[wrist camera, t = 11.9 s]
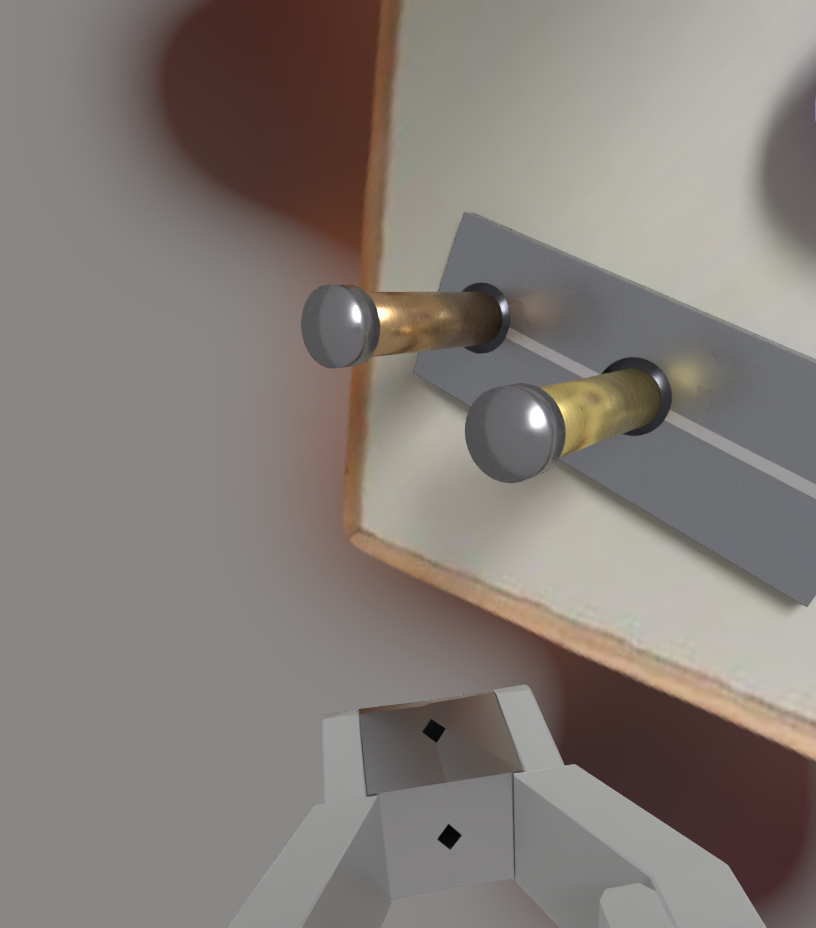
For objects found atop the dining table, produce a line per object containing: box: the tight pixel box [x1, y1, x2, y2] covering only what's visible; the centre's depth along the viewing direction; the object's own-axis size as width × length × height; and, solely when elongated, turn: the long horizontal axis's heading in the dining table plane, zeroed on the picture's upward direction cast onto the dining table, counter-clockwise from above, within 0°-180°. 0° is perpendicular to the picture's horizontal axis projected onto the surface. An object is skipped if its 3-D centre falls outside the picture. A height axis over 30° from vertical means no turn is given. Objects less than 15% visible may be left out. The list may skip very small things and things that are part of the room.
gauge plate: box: [413, 212, 816, 607], centre depth 45 cm, size 30×12×1 cm, turn 68°
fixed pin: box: [301, 285, 502, 368], centre depth 44 cm, size 4×4×15 cm
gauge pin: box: [465, 369, 662, 483], centre depth 38 cm, size 4×4×15 cm
